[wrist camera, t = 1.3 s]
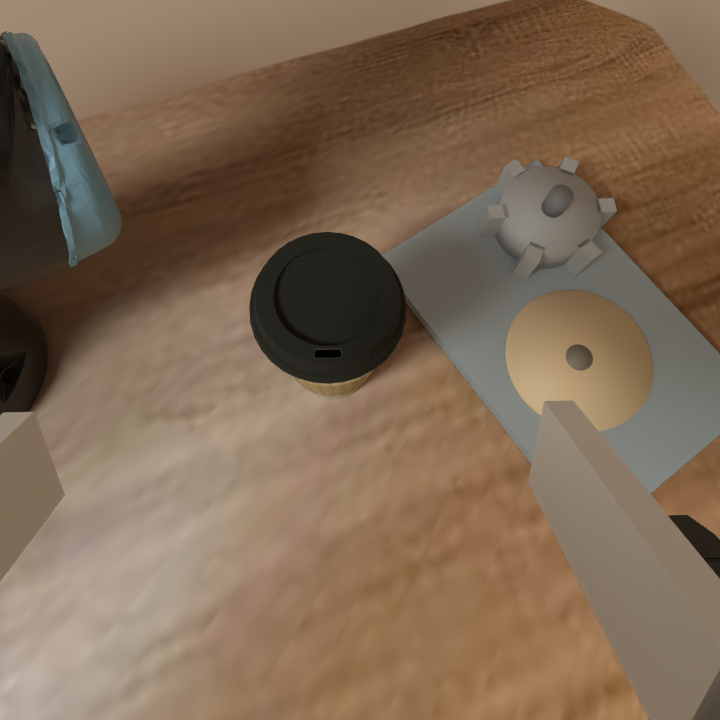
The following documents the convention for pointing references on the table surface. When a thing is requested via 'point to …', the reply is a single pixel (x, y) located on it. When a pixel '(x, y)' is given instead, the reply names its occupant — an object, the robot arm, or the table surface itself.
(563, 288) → the gear board
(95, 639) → the table surface
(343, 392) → the coffee cup
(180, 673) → the table surface
